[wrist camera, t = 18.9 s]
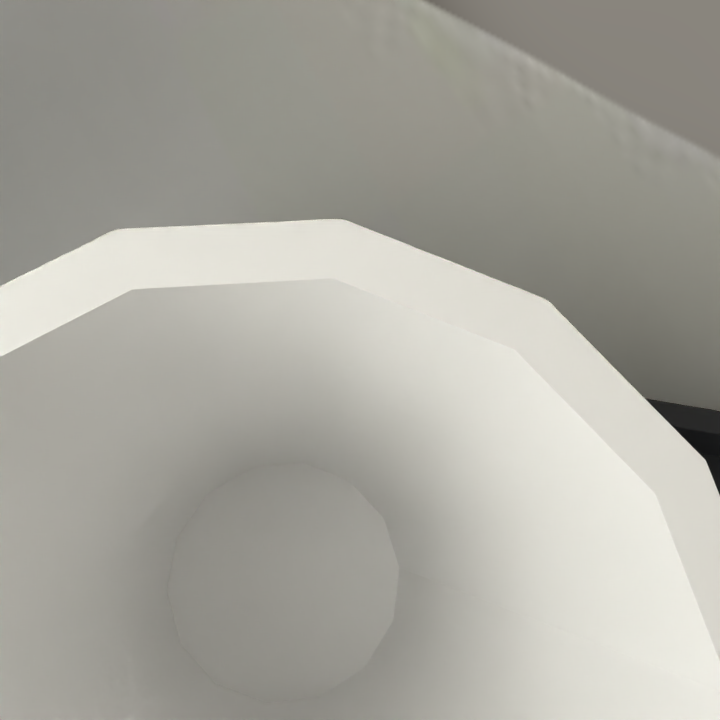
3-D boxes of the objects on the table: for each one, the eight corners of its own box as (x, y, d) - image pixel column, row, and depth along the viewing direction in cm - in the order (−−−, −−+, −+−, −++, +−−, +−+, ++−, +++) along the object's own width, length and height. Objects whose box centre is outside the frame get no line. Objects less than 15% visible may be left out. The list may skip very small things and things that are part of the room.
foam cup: (68, 457, 18) (-440, 372, 6) (393, 359, 20) (567, 112, 7) (159, 828, 17) (-255, 1830, 4) (504, 695, 18) (984, 1154, 6)
